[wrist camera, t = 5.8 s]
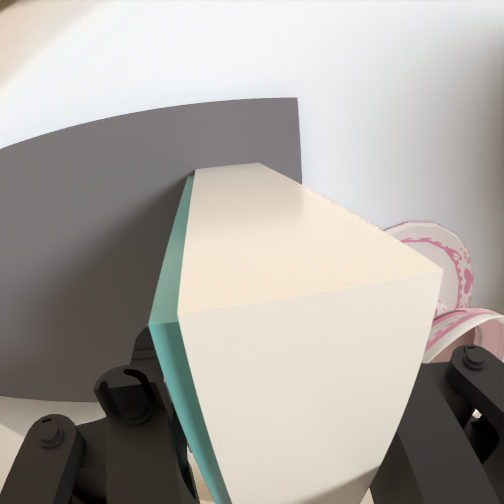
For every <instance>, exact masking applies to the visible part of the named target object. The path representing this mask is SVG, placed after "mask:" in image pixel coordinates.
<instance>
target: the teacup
mask: <svg viewBox="0 0 504 504" xmlns="http://www.w3.org/2000/svg"><path fill="white" fill-rule="evenodd" d="M384 232H386V233H387V234H389V235H391V236H392V237H394V238H396V239H397V240H399V241H400V242H402V243H404V244H405V245H407V246H408V247H410V248H412V249H413V250H415V251H416V252H418V253H419V254H421V255H422V256H424V257H426V258H427V259H429V260H430V261H432V262H433V263H435V264H436V265H438V266H439V267H441V268H442V269H444V271H443V276H442V281H441V286H440V291H439V296H438V301H437V305H436V310H435V314H434V318H433V322H432V326H431V330H430V334H429V337H428V341H427V344H426V348H425V351H424V355H423V358H422V361H421V362H422V363H437V362H448V361H450V358H451V356H452V353H453V351H454V350H455V349H456V348H457V347H458V346H462V345H465V344H474V345H477V346H481V347H483V348H485V349H486V350H488V351H490V352H491V353H492V354H493V355H495V356H496V357H497V358H498V359H499V360H501V361H502V362H503V363H504V315H501V314H500V313H497V312H495V311H492V310H488V309H483V308H468V306H469V303H470V300H471V294H472V284H473V271H472V266H471V261H470V257H469V253H468V251H467V250H466V248H465V247H464V245H463V244H462V242H461V241H460V239H459V238H458V236H457V235H456V234H454V233H452V232H450V231H448V230H447V229H445V228H443V227H441V226H439V225H437V224H435V223H427V222H406V223H403V224H400V225H398V226H395V227H392V228H389V229H387V230H384Z"/></svg>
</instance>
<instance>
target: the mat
mask: <svg viewBox="0 0 504 504" xmlns="http://www.w3.org/2000/svg"><path fill="white" fill-rule="evenodd" d="M249 163H260V164H262V165H264V166H266V167H268V168H270V169H272V170H274V171H276V172H278V173H280V174H282V175H284V176H286V177H288V178H290V179H292V180H294V181H296V182H298V183H299V184H301V185H302V172H301V151H300V133H299V116H298V102H297V98H261V99H242V100H228V101H216V102H206V103H196V104H188V105H180V106H173V107H166V108H159V109H153V110H147V111H141V112H135V113H130V114H125V115H120V116H115V117H110V118H105V119H101V120H96V121H92V122H88V123H84V124H80V125H76V126H72V127H68V128H65V129H61V130H57V131H54V132H50V133H47V134H44V135H40V136H37V137H34V138H31V139H28V140H25V141H22V142H19V143H16V144H13V145H10V146H7V147H5V148H2V149H0V396H6V397H15V398H24V399H36V400H50V401H70V402H99V401H98V399H97V397H96V395H95V393H94V391H93V388H94V386H95V383H96V381H97V380H98V379H99V378H100V377H101V376H102V375H103V374H104V373H106V372H107V371H109V370H111V369H113V368H116V367H120V366H123V365H130V361H131V357H132V352H133V348H134V344H135V340H136V337H137V336H138V335H139V334H140V333H141V331H142V330H143V329H144V328H145V327H149V325H148V324H149V319H150V315H151V310H152V306H153V302H154V297H155V293H156V289H157V285H158V281H159V277H160V273H161V269H162V265H163V261H164V257H165V253H166V250H167V246H168V242H169V239H170V235H171V231H172V228H173V224H174V221H175V217H176V214H177V210H178V207H179V204H180V200H181V197H182V194H183V191H184V187H185V184H186V181H187V178H188V176H192V175H195V170H196V169H201V168H210V167H219V166H228V165H238V164H249Z"/></svg>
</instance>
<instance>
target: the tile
mask: <svg viewBox="0 0 504 504" xmlns="http://www.w3.org/2000/svg"><path fill="white" fill-rule="evenodd" d="M443 271H444V269H442V268H441V267H439V266H438V265H436V264H435V263H433V262H432V261H430V260H429V259H427V258H426V257H424V256H422V255H421V254H419V253H418V252H416V251H415V250H413V249H412V248H410V247H408V246H407V245H405V244H404V243H402V242H400V241H399V240H397V239H396V238H394V237H392V236H391V235H389V234H387V233H386V232H384V231H383V230H381V229H379V228H378V227H376V226H374V225H373V224H371V223H369V222H367V221H366V220H364V219H362V218H361V217H359V216H357V215H356V214H354V213H352V212H350V211H349V210H347V209H345V208H343V207H342V206H340V205H338V204H336V203H334V202H333V201H331V200H329V199H327V198H325V197H324V196H322V195H320V194H318V193H316V192H314V191H313V190H311V189H309V188H307V187H305V186H303V185H301V184H299V183H298V182H296V181H294V180H292V179H290V178H288V177H286V176H284V175H282V174H280V173H278V172H276V171H274V170H272V169H270V168H268V167H266V166H264V165H262V164H260V163H249V164H238V165H228V166H219V167H210V168H201V169H196V170H195V175H192V176H188V178H187V181H186V184H185V187H184V191H183V194H182V197H181V200H180V204H179V207H178V210H177V214H176V217H175V221H174V224H173V228H172V231H171V235H170V239H169V242H168V246H167V250H166V253H165V257H164V261H163V265H162V269H161V273H160V277H159V281H158V285H157V289H156V293H155V297H154V302H153V306H152V310H151V315H150V319H149V324H148V325H149V329H150V332H151V336H152V339H153V343H154V346H155V349H156V353H157V356H158V359H159V362H160V365H161V369H162V372H163V375H164V378H165V381H166V384H167V387H168V389H169V392H170V395H171V398H172V401H173V404H174V406H175V409H176V412H177V415H178V417H179V420H180V423H181V425H182V428H183V430H184V433H185V435H186V438H187V440H188V443H189V445H190V448H191V450H192V453H193V455H194V457H195V460H196V462H197V464H198V467H199V469H200V471H201V473H202V476H203V478H204V480H205V482H206V484H207V486H208V489H209V491H210V493H211V495H212V497H213V499H214V501H215V503H216V504H360V502H361V500H362V499H363V497H364V495H365V494H366V492H367V490H368V488H369V486H370V484H371V483H372V481H373V479H374V477H375V475H376V473H377V471H378V469H379V467H380V465H381V463H382V461H383V459H384V457H385V455H386V452H387V450H388V448H389V446H390V444H391V441H392V439H393V437H394V435H395V432H396V430H397V428H398V425H399V423H400V420H401V418H402V415H403V413H404V410H405V408H406V405H407V402H408V400H409V397H410V394H411V391H412V389H413V386H414V383H415V380H416V377H417V374H418V371H419V368H420V365H421V361H422V358H423V355H424V351H425V348H426V344H427V341H428V337H429V334H430V330H431V326H432V322H433V318H434V314H435V310H436V305H437V301H438V296H439V291H440V286H441V281H442V276H443Z"/></svg>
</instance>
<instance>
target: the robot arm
mask: <svg viewBox="0 0 504 504" xmlns="http://www.w3.org/2000/svg"><path fill="white" fill-rule="evenodd" d="M93 391H94V393H95V395H96V397H97V399H98V401H99V403H100V405H101V406H102V408H103V410H104V412H105V414H106V415H107V416H106V417H105V418H102V419H100V420H97V421H93V422H89V423H85V424H81V425H77V426H75V424H74V423H73V422H72V421H71V420H70V419H69V418H68V417H66V416H63V415H61V414H50V415H47V416H44V417H42V418H40V419H39V420H38V421H36V422H35V423H34V424H33V425H32V427H31V428H30V429H29V431H28V433H27V435H26V437H25V439H24V441H23V443H22V445H21V448H20V450H19V452H18V454H17V456H16V458H15V461H14V463H13V465H12V467H11V470H10V472H9V474H8V476H7V479H6V481H5V484H4V486H3V489H2V491H1V494H0V504H200V501H199V497H198V493H197V489H196V485H195V481H194V477H193V472H192V468H191V466H190V464H189V462H188V460H187V446H188V448H189V450H190V453H192V450H191V448H190V445H189V443H188V440H187V438H186V435H185V433H184V430H183V428H182V425H181V423H180V420H179V417H178V415H177V412H176V409H175V406H174V404H173V401H172V398H171V395H170V392H169V389H168V387H167V384H166V381H165V378H164V375H163V372H162V369H161V365H160V362H159V359H158V356H157V353H156V349H155V346H154V343H153V339H152V336H151V332H150V329H149V327H145V328H144V329H143V330H142V331H141V333H140V334H139V335H138V336H137V337H136V340H135V344H134V348H133V352H132V357H131V361H130V365H123V366H120V367H116V368H113V369H111V370H109V371H107V372H106V373H104V374H103V375H102V376H101V377H100V378H99V379H98V380H97V381H96V383H95V386H94V388H93ZM475 409H477V410H478V411H479V412H480V413H481V414H482V415H481V417H480V418H475V417H474V416H472V414H473V413H474V411H475ZM369 487H370V491H371V494H372V498H373V502H374V504H504V363H503V362H502V361H501V360H499V359H498V358H497V357H496V356H495V355H493V354H492V353H491V352H490V351H488V350H486V349H485V348H483V347H481V346H477V345H474V344H465V345H462V346H458V347H457V348H456V349H455V350H454V351H453V353H452V356H451V358H450V361H448V362H437V363H422V362H421V365H420V368H419V371H418V374H417V377H416V380H415V383H414V386H413V389H412V391H411V394H410V397H409V400H408V402H407V405H406V408H405V410H404V413H403V415H402V418H401V420H400V423H399V425H398V428H397V430H396V432H395V435H394V437H393V439H392V441H391V444H390V446H389V448H388V450H387V452H386V455H385V457H384V459H383V461H382V463H381V465H380V467H379V469H378V471H377V473H376V475H375V477H374V479H373V481H372V483H371V484H370V486H369Z"/></svg>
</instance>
